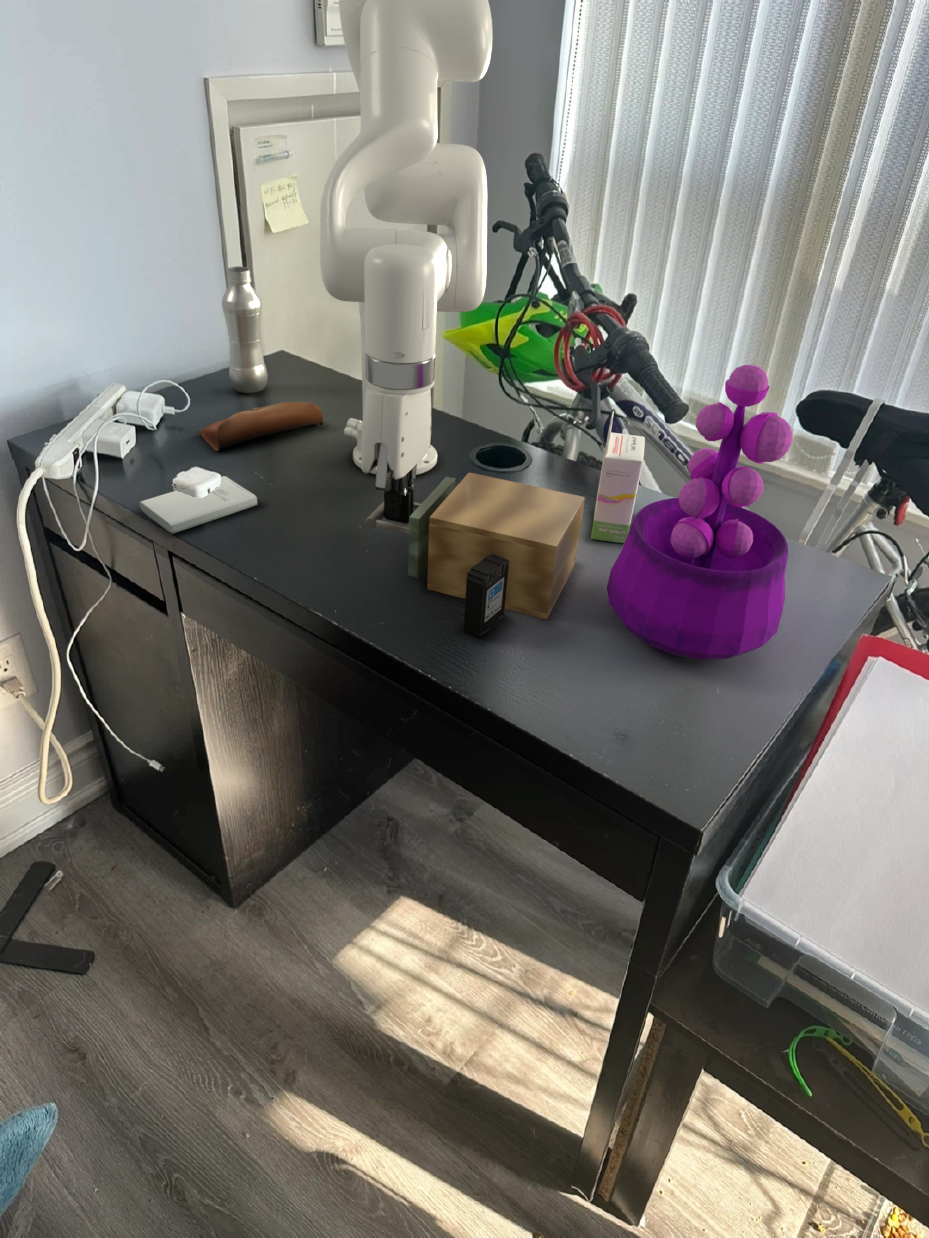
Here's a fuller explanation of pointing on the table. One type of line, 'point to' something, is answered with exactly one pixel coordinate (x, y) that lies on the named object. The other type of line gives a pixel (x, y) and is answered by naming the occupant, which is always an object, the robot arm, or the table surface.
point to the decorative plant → (710, 542)
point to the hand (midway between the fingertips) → (398, 518)
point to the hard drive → (197, 506)
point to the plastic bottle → (244, 332)
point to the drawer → (416, 525)
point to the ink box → (618, 486)
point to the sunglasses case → (261, 423)
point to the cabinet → (506, 539)
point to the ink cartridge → (485, 595)
